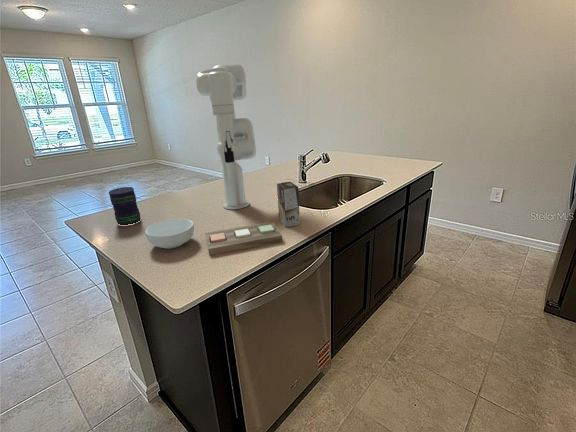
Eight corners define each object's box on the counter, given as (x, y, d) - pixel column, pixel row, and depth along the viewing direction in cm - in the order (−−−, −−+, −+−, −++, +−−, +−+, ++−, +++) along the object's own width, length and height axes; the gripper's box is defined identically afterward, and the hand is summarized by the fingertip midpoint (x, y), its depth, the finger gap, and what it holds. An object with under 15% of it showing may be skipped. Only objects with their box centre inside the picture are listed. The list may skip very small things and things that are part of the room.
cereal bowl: (205, 241, 116) (202, 224, 114) (163, 259, 105) (159, 240, 102) (181, 230, 127) (178, 214, 124) (141, 245, 116) (136, 228, 113)
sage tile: (258, 233, 119) (258, 226, 118) (271, 231, 121) (270, 224, 120) (261, 239, 115) (261, 231, 114) (274, 236, 116) (274, 229, 115)
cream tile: (235, 238, 117) (234, 230, 116) (248, 235, 118) (247, 228, 117) (237, 243, 113) (236, 236, 111) (251, 241, 114) (250, 233, 113)
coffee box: (300, 224, 126) (299, 186, 120) (285, 227, 124) (283, 189, 118) (292, 217, 134) (290, 181, 128) (278, 219, 132) (275, 183, 126)
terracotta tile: (211, 242, 115) (209, 235, 113) (224, 240, 116) (223, 232, 115) (212, 248, 110) (211, 240, 109) (226, 245, 111) (225, 238, 110)
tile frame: (206, 238, 118) (205, 232, 117) (271, 227, 125) (271, 221, 124) (209, 255, 106) (208, 249, 105) (282, 241, 113) (281, 235, 112)
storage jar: (146, 220, 140) (138, 188, 134) (126, 228, 132) (117, 195, 126) (132, 216, 145) (124, 186, 139) (112, 224, 137) (103, 192, 131)
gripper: (210, 110, 115) (217, 159, 122) (214, 112, 102) (222, 167, 108) (231, 108, 117) (236, 157, 124) (237, 110, 104) (243, 164, 110)
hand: (229, 161), depth 116 cm, fingers closed
